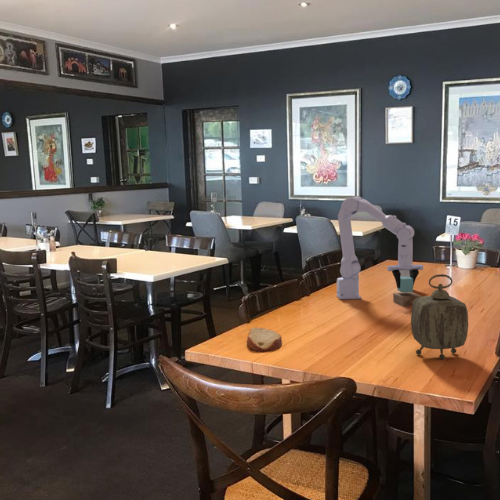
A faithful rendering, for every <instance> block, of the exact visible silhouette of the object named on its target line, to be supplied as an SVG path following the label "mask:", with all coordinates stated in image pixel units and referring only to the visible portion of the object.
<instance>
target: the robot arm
mask: <svg viewBox="0 0 500 500" xmlns="http://www.w3.org/2000/svg"><path fill="white" fill-rule="evenodd" d="M358 212H361V213H363V212H364V213H366V214H368V215H370V216H372V217H373V218H375V219H377V220H378V221H380V222H381V223H382V227H384V228H385V229H386V230H388V231H389V232H391V233H392V234H393V235H395V236H396V238H397V239H398V245H397V247H398V249H397V251H398V252H397V261H398V262H397V265H387V266H386V269H387V270H386V271H388V272H391V273H392V275H393V277H394V280H395V283H396V288H400V276H401V273H400V271H402V270H409V272H410V277H411V278H412V279H413V287H414V285H415V282H416V279H417V277H418V275H419V274H420V271H424V265H423V264H413V252H414V251H413V250H414V249H413V248H414V247H413V246H414V245H413V242H414V241H413V237H414V236H415V229H414V228H413V227H412V226H411V225H409V224H408V225H407V223H406V222H402V221H401V220H399V219H398V218H397V216H396V215H393V214H388V215H387V214H385V213H384V212H383V211H381V210H380V209H379V208H377V207H376V206H375V205H373V203H371V202H369V201H368V200H366V199H364V198H363V197H361V196H359V195H357V196H356V195H355V196H349V197H346V198H345V199H344V200H343V201H342V202H341V206H340V209H339V212H338V214H337V221H338V227H339V228H338V229H339V237H340V244H341V252H342V258H341V260H340V267H339V272H340V275H341V276H340V277H337V278H336V297H337V298H338V299H340V300H356V299H360V300H361V299H362V296H360V294H359V293H360V282H359V281H360V276H359V273H360V272H361V269H362V268H361V264H360V262H359V259H358V257H357V256H356V254H355V252H356V250H355V244H354V237H353V229H352V221H351V219H352V218H353V217H354V215H355V214H357V213H358Z"/></svg>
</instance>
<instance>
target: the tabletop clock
mask: <svg viewBox="0 0 500 500" xmlns="http://www.w3.org/2000/svg"><path fill="white" fill-rule="evenodd" d="M440 277H443V278H447V279H449V280H450V283H449V284H446V285H443V284H442V283H439V284H438V286H435V285H432V283H431V282H432V280H433V279H435V278H440ZM428 284H429V286H430V287H431V288H433V289H435V290H434V291H433V292H432V293H431V295H424V296H421V297H419V298H417V299H415V300H414V303H413V306H412V307H411V314H410V325H411V326H410V328H411V334H412V336H413V339H414V341H416V342H417V343H418V344H419V345H420V348H419V349H416V350H415V354H416V355H418V356H419V355H421V354H422V350H423V349H424V348H426V349H431V350H440V355H438V356H439V360H442V361H443V360H445V359H446V356H445V355H444V350H448V349H450V353H452V354H456V353H457V348H460V347H462V346H465V343H466V341H467V338H468V333H469V312H468V307H467V305H466V303H465V302H463V301H462V300H459V299H457V298H456V297H453V296H450V294H449V292H448V291H447V290H445V289H447V288H449V287H451V286H452V285H453V278H452V277H451V276H449V274H448V275H447V274H444V273H443V274H441V273H440V274H435V275H432V276H431V277H430V278H429V280H428Z"/></svg>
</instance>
